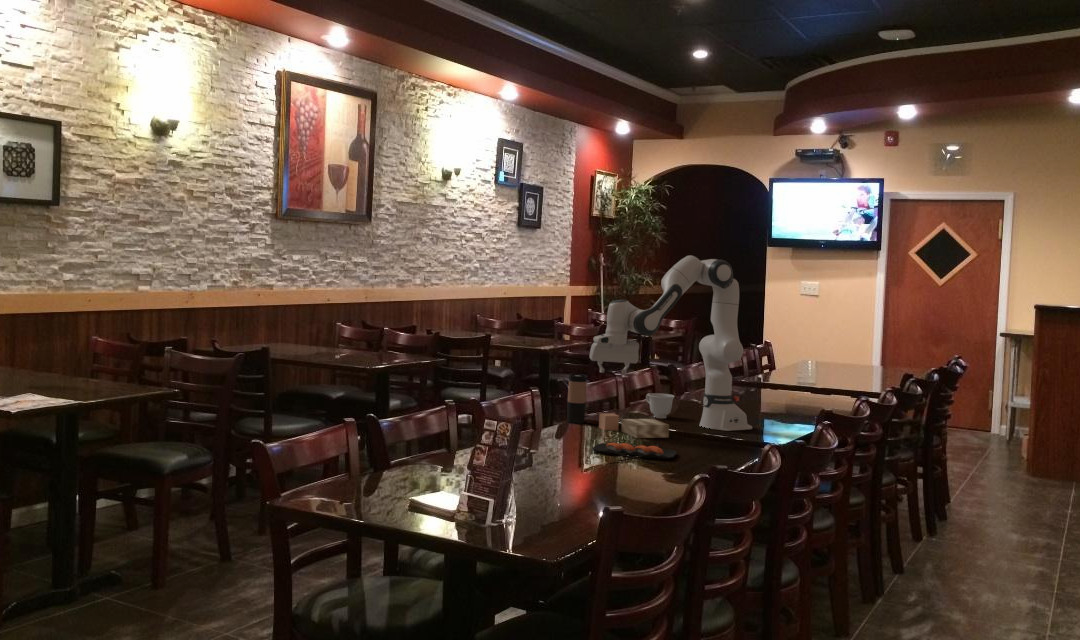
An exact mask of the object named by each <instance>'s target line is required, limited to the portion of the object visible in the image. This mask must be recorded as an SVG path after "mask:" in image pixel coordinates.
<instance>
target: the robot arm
mask: <svg viewBox="0 0 1080 640" xmlns="http://www.w3.org/2000/svg"><path fill="white" fill-rule="evenodd" d="M695 282H696V283H697V284H698V285H704V286H711V287H712V291H713V294H712V302H711V309H710V310H711V311H710V322H711V325H712V327H713V328H712V329H713V332H714V334H709V335H706V336H704V337H703V338H702V339H701V340H700V342H699V344H698V350H699V352H700V354H701V356H702V360H703V365H704V370H705V371H704V373H705V380H704V381H705V382H704V383H705V385H704V392H703V402H702V403H703V404H702V405H703V409H702V414H701V419H700V421H699V425H698V426H699V427H701V426H702V427H701V428H704V427H705V429H709V428H710V430H719V431H726V432H730V431H746V430H753V426H752V425H751V424H749V423H748V419H747V418H748V417H747V414H746V413H745V411H743V410H742V409H741V408H740V407H739V406H738V405H736V403H735V402H739V401H740V398H739V396H737V395H732V391H733V390H732V386H733V375H732V374H731V371H730V369H729V364H731V363H733V364H734V363H737V362H738V361H740V360H741V358H742V357H743V354H744V347H743V343H741V341H740V337H739V329H738V317H739V316H738V315H739V306H740V285H739V282H738V280H737V279H736V278H735V276H734V270H733V268H732V265H731V264H730V263H729V262H727V261H726V260H723V259H717V258H710V259H699V258H698V257H697V256H694V255H691V254H690V255H686V256H685V257H683V258H681V259H680V260H678V262H676V263H675V264H673V266H671V268H670V269H668V271H667V272H666V273H665V274H664V275H663V277H662V278H661V282H660V283H661V284H660V285H661V286H660V287H661V289H662V291H663V293H662V295H661V296H660V297H659V298H658V300H657V301H655V303H654V304H653V305H652V306H651V307H650V308H647V309H640V308H638V307H636V306H635V305H633V304H632V303H631V302H629V300H627V299H615V300H612V301H611V302H610V303H609V305H608V308H607V313H606V329H605V333H603V334H600V335H596V336H593V343H592V344H591V347H590V351H589V359H590V361H592V362H597V365H598V368H599V373H602V374H604V373H605V368H604V367H603V363H604V362H607V363H624V367H623V368H622V369H621V374H622V375H623V374H624V375H626V374H627V371H628V369H629V367H630V364H637V363H639V350H640V344H639V342H638V341H636V340H631V339H628V333H629V331H630V332H632V333H636V334H639V335H642V336H645V337H646V336H647V337H649V336H652V335H654V334H656V333H657V331H658V330H659V328H660V326H661V323H662V321H663V319H664V318H665V317H666V316H667V314H668V313H669V312H670V311H671V310H672V309H673V308H674V306H675V305H677V303H678V301H679V300H680V299H681V297H682V296H683V295H684V293H686V291H688V289H690V287H691V286H693V284H695Z"/></svg>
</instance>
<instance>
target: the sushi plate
mask: <svg viewBox="0 0 1080 640" xmlns="http://www.w3.org/2000/svg"><path fill="white" fill-rule="evenodd" d="M592 451H593V452H597V453H601V452H602V454H605V453H610V454H609V455H614V454H619V455H618V456H623V457H627V458H624V459H619V460H618V459H617V461H621V462H624V461H630V460H637V461H640V460H642V461H641V462H644V461H646V462H645V463H647V462H651V463H655V462H653V461H650V460H646V459H642V458H643V457H648V458H647V459H653V458H657V459H656V460H665V459H666V460H667V459H668V460H669V459H673V458H675V456H676V455H677V451H676V450H673V449H668V448H667V449H664V448H660V447H659V446H656V445H650V446H646V445H643V444H642V445H641V444H640V445H637V446H634V445H631V444H630V443H627V442H622V443H618V442H608V443H603V442H601V443H598V444H596V445H594V446H593V447H592ZM627 455H629V456H627ZM634 456H638V457H634ZM651 463H650V464H651Z"/></svg>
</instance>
